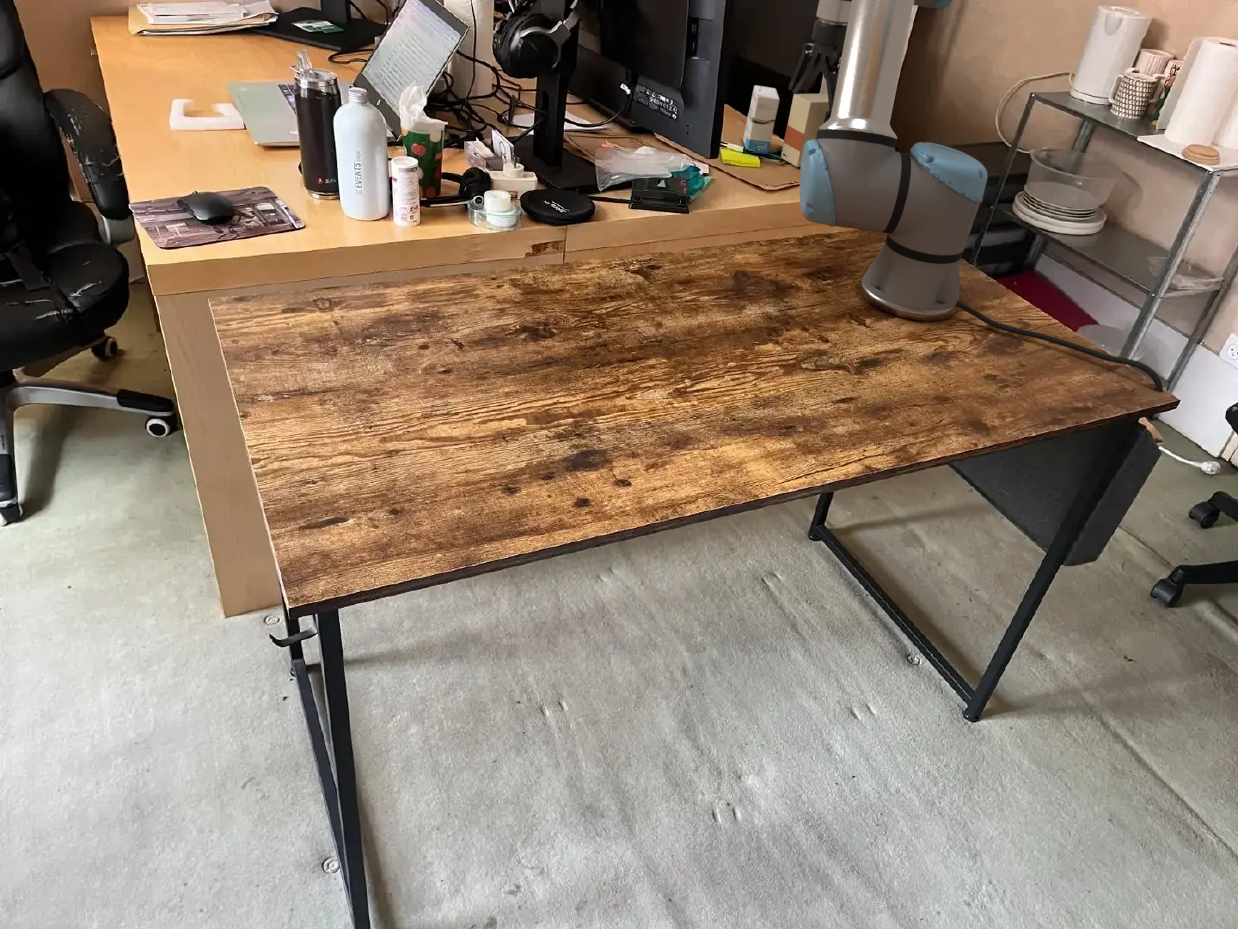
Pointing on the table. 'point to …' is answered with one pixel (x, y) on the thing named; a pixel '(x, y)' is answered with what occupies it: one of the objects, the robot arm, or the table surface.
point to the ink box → (761, 119)
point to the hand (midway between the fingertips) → (809, 136)
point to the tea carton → (803, 124)
